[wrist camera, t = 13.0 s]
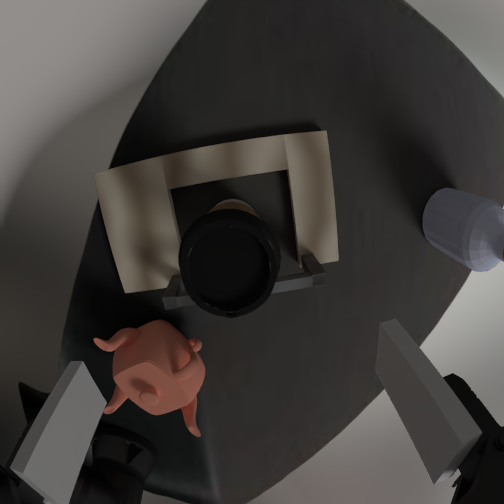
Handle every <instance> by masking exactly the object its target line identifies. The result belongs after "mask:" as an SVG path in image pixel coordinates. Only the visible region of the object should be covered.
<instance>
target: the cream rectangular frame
mask: <svg viewBox="0 0 504 504" xmlns="http://www.w3.org/2000/svg"><path fill="white" fill-rule="evenodd" d="M279 170H287V175H288V182H289V190H290V198H291V206H292V214H293V222H294V231H295V240H296V249H297V258H298V264H299V266H300V267H303V269H304V271H305V273H299V274H293V275H287V276H281V277H277V279H276V281H275V285H274V288H273V290H272V292H271V294H272V293H278V292H284V291H290V290H296V289H301V288H307V287H313V288H314V287H320V286H325V285H327V282H326V272H325V270H324V269H323V267H322V266H321V264H322V263H328V262H334V261H339V260H338V241H337V226H336V213H335V201H334V191H333V181H332V171H331V163H330V154H329V146H328V139H327V132H326V131H316V132H305V133H295V134H286V135H277V136H269V137H262V138H255V139H248V140H241V141H235V142H229V143H223V144H217V145H212V146H206V147H201V148H196V149H191V150H186V151H181V152H177V153H172V154H168V155H163V156H159V157H155V158H151V159H146V160H142V161H139V162H135V163H131V164H127V165H123V166H120V167H116V168H112V169H109V170H106V171H102V172H99V173H95V174H94V179H95V184H96V189H97V194H98V198H99V203H100V207H101V211H102V215H103V219H104V223H105V227H106V231H107V235H108V238H109V242H110V246H111V249H112V253H113V256H114V259H115V263H116V266H117V269H118V273H119V276H120V279H121V282H122V285H123V288H124V291H125V293H131V292H139V291H146V290H153V289H160V288H166V290H165V292H164V294H163V296H162V300H163V303H164V306H165V310H168V309H176V308H179V307H182V306H189V305H196V304H195V302H194V301H193V300H192V299H191V298H190V296H189V295H188V293H187V291H185V287H184V284H183V282H182V277H181V273H180V268H179V263H178V254H179V248H180V243H181V238H180V233H179V229H178V224H177V220H176V215H175V210H174V205H173V201H172V196H171V191H170V189H173V188H178V187H183V186H188V185H194V184H199V183H204V182H210V181H215V180H221V179H227V178H233V177H239V176H245V175H252V174H258V173H265V172H272V171H279Z"/></svg>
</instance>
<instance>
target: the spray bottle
mask: <svg viewBox="0 0 504 504" xmlns="http://www.w3.org/2000/svg"><path fill="white" fill-rule="evenodd" d="M422 227H423V231H424V234H425V237H426V239H427V240H428V241H429V243H430V244H431V245H433V246H434V247H436V248H438V249H439V250H441V251H443V252H444V253H446V254H448V255H449V256H451V257H452V258H454V259H456V260H457V261H459V262H460V263H462V264H464V265H465V266H467V267H468V268H470V269H472V270H473V271H479V272H481V271H488V270H490V269H492V268H493V267H495V266H496V265H497V264H498V263H499V262H500V261H501V260H502V261H504V209H503V208H502V207H501V206H500V205H499V204H498V203H496V202H495V201H492V200H489V199H486V198H483V197H479V196H476V195H473V194H469V193H466V192H463V191H459V190H456V189H451V188H444V189H441V190H438V191H437V192H435V193H434V194H433V195H432V196H431V197H430V199H429V200H428V202H427V204H426V206H425V209H424V213H423V216H422Z"/></svg>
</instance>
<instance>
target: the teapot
mask: <svg viewBox="0 0 504 504" xmlns="http://www.w3.org/2000/svg"><path fill="white" fill-rule="evenodd" d="M93 340H94V342H95V344H96V345H97V346H98V347H100V348H101V349H103V350H105V351H114V350H115V353H114V358H113V378H114V381H115V382H116V388H115V391H114V394H113V397H112V399H111V401H110V403H109V404H108V405H107V406H106V407H105V408H104V410H103V412H104V413H105V414H110V413H113V412H114V411H115V410H116V409H117V408H118V407H119V406H120V405H121V404H122V403H123V402H124V401H125V400H126V399H127V398H128V397H129V398H130V399H131V400H132V401H133V402H134V403H136V404H137V405H138V406H140V407H141V408H142V409H144V410H145V411H147V412H149V413H151V414H153V415H160V414H164V413H168V412H171V411H173V410H176V409H179V408H181V409H182V412H183V416H184V420H185V423H186V426H187V428H188V429H189V431H190V432H191V433H192V434H194V435H195V436H197V437H200V436H201V434H200V432H199V430H198V428H197V426H196V422H195V413H196V407H197V396H196V394H197V393H198V391H199V389H200V387H201V385H202V383H203V380H204V377H205V366H204V363H203V361H202V359H201V357H200V356H199V354H198V352H197V351H199V350H200V349H201V347H202V343H201V341H200V340H199V339H197V338H192V339H190V340H188V339H187V338H186V337H185V336H184V335H183V334H182V333H181V332H180V331H179V330H178V329H176V328H175V327H174V326H173V325H171V324H170V323H169V322H167V321H165V320H162V319H158V320H154V321H152V322H149V323H147V324H145V325H143V326H141V327H139V328H137V329H135V328H123V329H121V330H119V331H118V332H116V333H115V334H114V335H113V337H112V338H111V339H110V340H108V341H104V340H101V339H99V338H94V339H93Z"/></svg>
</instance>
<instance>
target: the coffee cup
mask: <svg viewBox="0 0 504 504" xmlns="http://www.w3.org/2000/svg"><path fill="white" fill-rule="evenodd" d="M280 261H281V254H280V247H279V244H278V241H277V238H276V236H275V235H274V233H273V231H272V230H271V229H270V227H269V226H268V225H267V224H266V223H265V222H264V221H262V220H261V219H260V217H259V216H258V215H257V214H256V213H255V211H254V210H253V209H252V207H251V206H250V205H248V204H247V203H246V202H244V201H242V200H238V199H227V200H224V201H222V202H220V203H218V204H217V205H216V206H215V207H214V208H212V209H211V210H210V211H209V212H208V213H206V214H205V215H203V216H202V217H200V218H198V219H197V220H196V221H195V222H194V223H193V224H191V225H190V226H189V228H188V229H187V231H186V232H185V234H184V236H183V238H182V241H181V243H180V248H179V254H178V263H179V268H180V273H181V277H182V282H183V284H184V287H185V289H186V291H187V293H188V295H189V296H190V298H191V299H192V300H193V301H194V302H195V304H196V305H198V306H199V307H200V308H202V309H203V310H205V311H207V312H209V313H212V314H215V315H218V316H222V317H227V318H235V317H239V316H242V315H245V314H247V313H250V312H252V311H254V310H255V309H257V308H259V307H260V306H261V305H262V304H263V303H264V302H265V301H266V300H267V299H268V297H269V296H270V294H271V292H272V290H273V288H274V285H275V281H276V279H277V276H278V273H279V270H280Z"/></svg>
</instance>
